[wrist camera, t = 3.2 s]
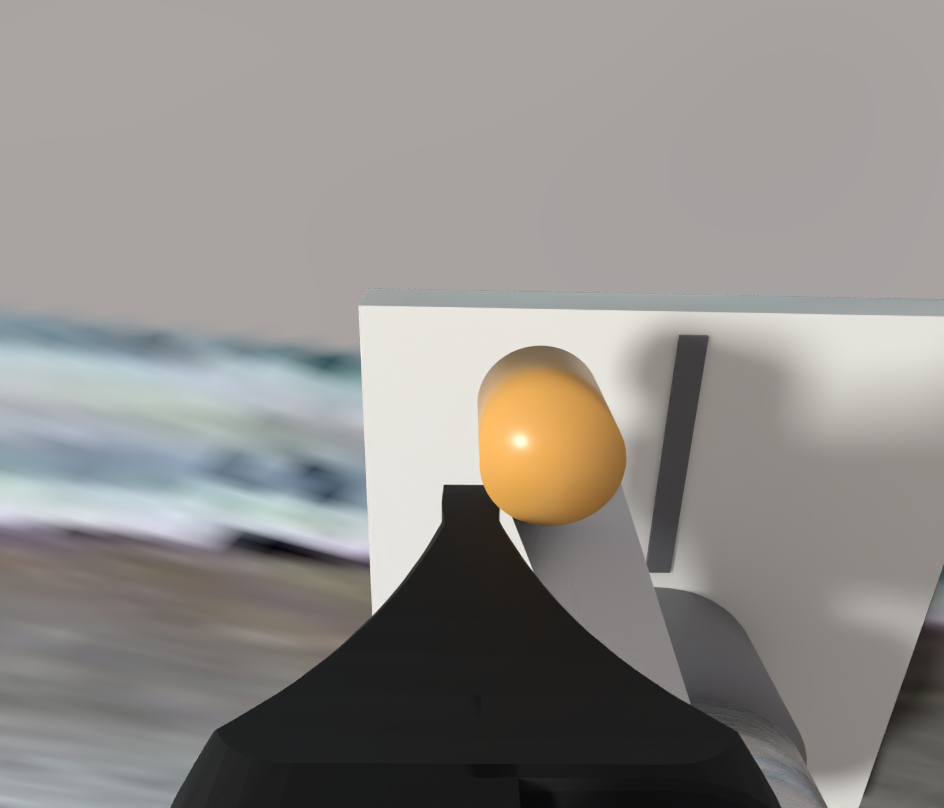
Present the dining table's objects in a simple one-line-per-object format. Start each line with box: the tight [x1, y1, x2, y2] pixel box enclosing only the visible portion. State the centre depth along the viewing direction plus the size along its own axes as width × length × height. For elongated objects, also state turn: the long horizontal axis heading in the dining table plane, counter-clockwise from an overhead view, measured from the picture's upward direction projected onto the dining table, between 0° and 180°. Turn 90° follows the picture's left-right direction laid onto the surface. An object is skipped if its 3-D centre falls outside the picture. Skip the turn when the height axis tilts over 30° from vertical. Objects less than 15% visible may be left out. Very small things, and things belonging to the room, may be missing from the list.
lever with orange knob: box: [477, 346, 828, 808], centre depth 13 cm, size 14×6×2 cm, turn 20°
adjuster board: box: [359, 288, 944, 808], centre depth 17 cm, size 16×14×4 cm
